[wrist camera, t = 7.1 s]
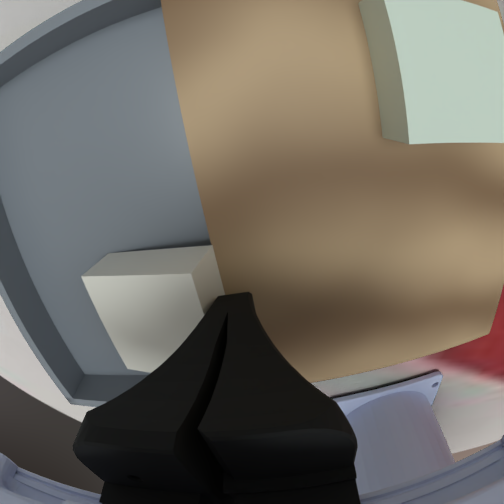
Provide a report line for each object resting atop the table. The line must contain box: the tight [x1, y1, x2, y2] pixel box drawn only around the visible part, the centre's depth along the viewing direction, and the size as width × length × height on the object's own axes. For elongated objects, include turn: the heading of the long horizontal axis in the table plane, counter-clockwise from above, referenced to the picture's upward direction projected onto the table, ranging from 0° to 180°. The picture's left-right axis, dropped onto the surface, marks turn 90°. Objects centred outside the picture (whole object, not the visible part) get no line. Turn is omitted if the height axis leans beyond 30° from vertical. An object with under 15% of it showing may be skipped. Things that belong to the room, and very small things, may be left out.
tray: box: [0, 0, 211, 407], centre depth 11 cm, size 18×11×2 cm, turn 10°
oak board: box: [161, 0, 504, 383], centre depth 11 cm, size 18×14×2 cm
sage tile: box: [358, 0, 504, 144], centre depth 7 cm, size 5×5×2 cm
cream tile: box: [81, 245, 225, 373], centre depth 12 cm, size 5×5×2 cm
